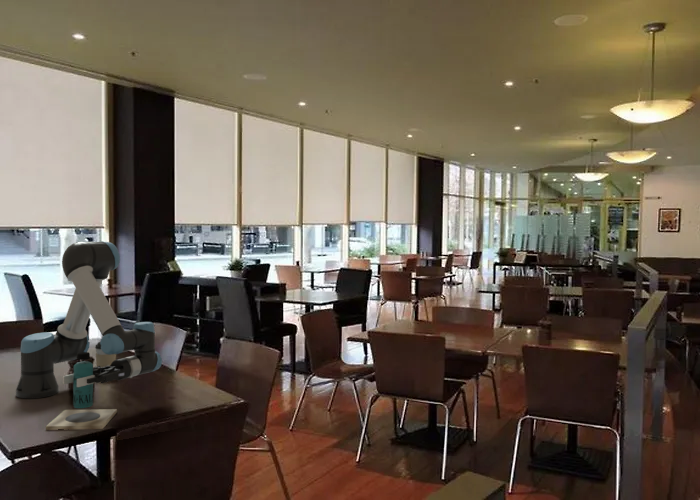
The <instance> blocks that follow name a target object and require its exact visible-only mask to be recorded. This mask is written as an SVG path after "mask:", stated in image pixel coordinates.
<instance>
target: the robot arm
mask: <svg viewBox="0 0 700 500" xmlns="http://www.w3.org/2000/svg"><path fill="white" fill-rule="evenodd" d="M120 261H121V256H120V252H119V249H118V247H117V246H116V245H115V244H114V243H112V242H110V241H101V240H99V241H78V242H77V241H76V242H74V243H72V244H70V245H69V246H68V247H66V249H65V251H64V252H63V254H62V259H61V264H62V265H61V267H62V272H63V273H64V275H65V278H66V279H67V281H68V282H71V283H73V284H72V285H74V289H75V290H74V293H73V295H72V298H71V301H70V303H69V306H68V309H67V312H66V315H65V318H64V321H63V323H62V324H60V325H58V326H57V329H56V332H55V334H54V333H52V332H49V331H48V332H47V331H45V332H37V333H32V334H29V335H26V336H25V337H23V338H22V340H21V341H20V349H19V350H20V377H19V379H18V382H17V383H18V384H17V386H16V389H15V397H17V398H19V399H29V400H30V399H40V398H41V399H42V398H48V397H51V396H52V397H53V396H54V395H56V394H58V393H59V383H58V381H57V378H56V374H55V365H56V364H61V363H65V362H69V361H75V360H77V354H78V353H81V352H89V348H90V337H89V335H88V331H87V330H86V327H87V324H88V322H89V319H90V316H91V318H92V320H93V322H94V323H95V325H96V326H97V329H98V330H99V333H100V334H101V335H102V337H101V339H100V341H99V342H100V344H101V349H102V351H103V352H104V353H105V354H108V355H112V354H116V355H118V354H122V353H125V352H130V351H134V355H131V356H126V357H122V358H119V359H116V360H114V361H113V362H112V363H111V365H110V366H105V367H101V366H97V365H96V366H95V367H94V366H93V375H91V376H87V377H83V378H79V379H77V387H81V386H85V385H89V384H95V383H96V384H99V383H100V384H105V383H108V382H112V381H115V380H116V381H121V380H126V379H133V377H136V376H141V375H143V374H144V375H145V374H148V373H149V374H150V373H152V372H155V371H157V370H159V369H160V368H161V367H162V363H163V360H162V359H163V358H162V357H161V354H160V353H159V352H158V351H157V350H156V342H155V341H156V337H155V336H156V335H155V334H156V331H155V330H156V329H155V324H154V323H153V322H152V321H141V322H140V321H139V322H136V323H134V324H133V328H132V329H128V330H125V329H124V328H123V326H122V324H121V322H120V320H119V319H118V316H117V315H116V313H115V311H114V310H113V308H112V306H111V304H110V303H109V301H108V299H107V297H106V296H105V293H104V292H103V290H102V288H101V285H102V283H103V281H105V280H107V279H108V278H109V275H110V271H114V270H115V269H118V267H119V266H120ZM73 378H74V373H71V374H66V375H62V385H67V384H73Z"/></svg>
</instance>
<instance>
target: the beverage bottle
mask: <svg viewBox="0 0 700 500" xmlns="http://www.w3.org/2000/svg"><path fill="white" fill-rule="evenodd" d="M89 359H91V355H90V352H89V351H87V352H81V353H78V354H77V359H76V360H78V362H76V363H75V364H74V365H73V374H74V378H73V382H72V384H73V385H72V391H73V393H72V397H73V398H72V406H73V408H74V409H87V408H90V407H92V406H93V405H94V390H95V389H94V384H95V383H93V384H89V385H85V386H81V387H77V379H79V378H83V377H87V376H91V375H93V367H94V364H93V363H92V362H90V361H88V360H89Z"/></svg>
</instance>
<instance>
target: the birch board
mask: <svg viewBox="0 0 700 500" xmlns="http://www.w3.org/2000/svg"><path fill="white" fill-rule="evenodd" d="M117 413H118V409H117V408H112V409H111V408H110V409H109V408H107V409H103V408H102V409H99V408H98V409H97V408H96V409H91V408H90V409H64V410H63V411H61V413H59V414H58V415H57V416H56V417H55V418H54V419H52V420H51V421H50V422H49V423H48V424H47V425H46V426H45V430H46V431H58V429H64V430H65V431H67V430H68V429H69V430H104V428H106V425H108V423H109V422H111V420H112V419H113V418H114V416H115V415H116V414H117ZM64 430H63V431H64Z"/></svg>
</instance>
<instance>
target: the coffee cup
mask: <svg viewBox="0 0 700 500" xmlns="http://www.w3.org/2000/svg"><path fill="white" fill-rule="evenodd" d="M94 348H95V361H96V362H95V363H96V367H97V366H101V367H105V366H110V365H111V363H112V362H113V361H114V360H117V354H112V355H108V354H105V353H104V352H103V351H102V349H101V344H100V341H99V342H97V344H95V347H94Z"/></svg>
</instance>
